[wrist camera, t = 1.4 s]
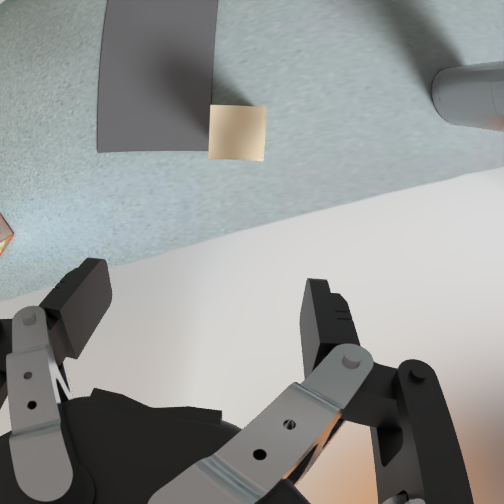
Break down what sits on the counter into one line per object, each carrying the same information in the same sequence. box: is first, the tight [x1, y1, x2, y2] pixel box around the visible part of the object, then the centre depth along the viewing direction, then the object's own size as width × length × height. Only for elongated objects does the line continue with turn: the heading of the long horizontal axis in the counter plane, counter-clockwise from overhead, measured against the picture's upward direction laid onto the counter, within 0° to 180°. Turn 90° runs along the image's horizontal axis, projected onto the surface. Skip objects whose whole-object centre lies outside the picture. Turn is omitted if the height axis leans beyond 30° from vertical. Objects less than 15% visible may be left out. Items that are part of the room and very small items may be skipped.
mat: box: [98, 0, 218, 153], centre depth 36 cm, size 16×26×1 cm, turn 177°
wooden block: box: [208, 105, 267, 161], centre depth 34 cm, size 5×5×14 cm
